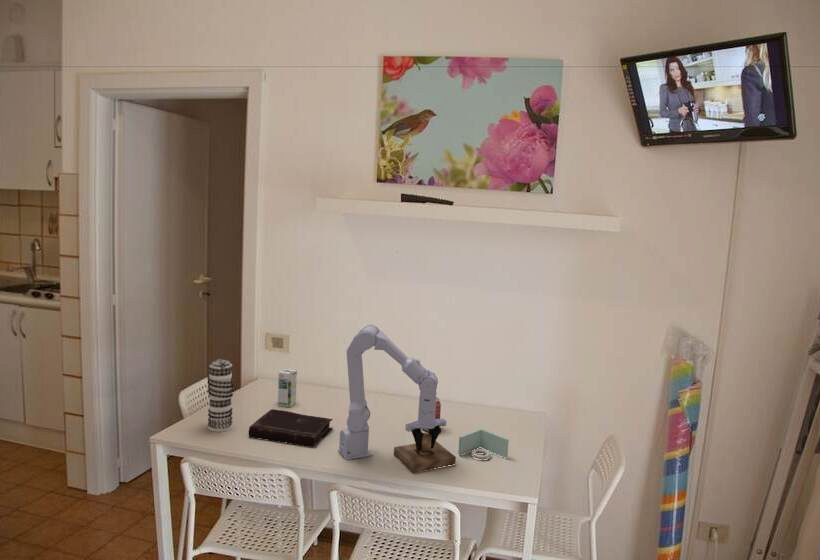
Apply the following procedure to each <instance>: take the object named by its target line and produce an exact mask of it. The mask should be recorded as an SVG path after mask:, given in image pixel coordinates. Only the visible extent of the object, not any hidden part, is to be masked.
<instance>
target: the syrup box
mask: <svg viewBox="0 0 820 560" xmlns="http://www.w3.org/2000/svg"><path fill="white" fill-rule="evenodd" d="M297 373H298V370H297V369H288V368H282V369H281V370H279V371H278V375H277V376H278V377H277V378H278V382H277V383H278V384H277V385H278V386H277V387H278V388H277V393H278V394H277V406H278V407H279V406H280V407H285V408H288V409H289V408H291V407H293V406H294V405H295V404H297V384H298V383H297V382H298V381H297V376H298V374H297Z"/></svg>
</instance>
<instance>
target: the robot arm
mask: <svg viewBox="0 0 820 560" xmlns="http://www.w3.org/2000/svg"><path fill="white" fill-rule="evenodd" d="M373 347H374V348H373ZM372 348H373V350H374V351H384V352H385V353H386V354H387V355H389V356H390V357H391V358H392V359H394V361H396V362H397V363H398V364H399V365H401V371H402V372H403V374H405V375H406V376H407V377H408V378H409V379H411V380H412V381H413V382H414V383H415V384H416V385H418V389H419V392H420V393H419V398H418V413H417V420H415V421H412V422H409V423H405V431H407V432H411V434H412V435H413V439H414V444H416V449H417V450H418V451H421V445H422V438H423V435H424V433H425V432H422V429H423V430H424V428H428V430H429V432H428V434H431V435H432V439H431V449H433V448H434V444H435V442H437V440H438V437H439V435H440V434H441V433H442V428H441V427H446V426H447V419H444V418H440V419H435V413H436V397H437V389H438V383H439V381H438V376H437V375H436V374H435V372H432V371H430V370H429V369H426V367H424V366H423V365H422V364H421V360H419V359H418V358H417V359H416V358H414V357H409V356H407V355H406V354H405V353H404V352H403V351H402V350H401V349H400V348H399V347H398V346H397V345H396V344H395V343H394V342H393V341H392V340H391V339H390V338H389V337H388V336H387V334H385V332H384V331H383V330H380V329H379V328H378V326H376V325H373V324H369V325H368V324H367V325H366V326H364V327H363V328H362V329H361V330H359V331H358V333H357V334H356V335H354V336H353V338H352V341H351V342H350V344H349V346H348V347H347V350H346V364H347V365H346V366H347V376H348V390H349V391H348V392H349V402H350V403H349V408H348V417H347V419H346V426H347V427H346V428H345V429H341V430H340V431H339V444H338V446H339V447H338V452H339V453H340V455H342V457H343V458H344V459H345V460H348V461H349V460H352V459H353V460H354V459H359V458H365V457H366V458H367V457H372V456H373V453H372V452H371V451H370V450H369V437H370V436H369V433H370V426H369V425H368V420H369V419H370V418H371V411H370V409H369V407H368V402H367V400H366V398H365V397H366V395H365V380H364V367H363V356H362V355H363V354H364V353H365V352H366V351H368V350H371V349H372Z"/></svg>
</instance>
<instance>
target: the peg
mask: <svg viewBox="0 0 820 560" xmlns="http://www.w3.org/2000/svg"><path fill="white" fill-rule="evenodd" d="M423 433H424V435H423V438H422V445H421V451H420V456H421V457H422V456H428V455H429V452H430V451H431V439H432V435H431V434H429V432H423Z"/></svg>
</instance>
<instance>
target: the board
mask: <svg viewBox="0 0 820 560" xmlns="http://www.w3.org/2000/svg"><path fill="white" fill-rule="evenodd" d="M394 455H395V456H396V457H397V458H398V459H399V460H400V461H401V462H402V463H403V464H404V465H405V466H406V467H407V468H408V469H409V470H410V471H409V470H408V469H407V468H406V467H405V466H404V465H403V464H402V463H401V462H400V461H399V460H398V459H397V458H396V457H395V456H394ZM393 456H394V457H395V458H396V459H397V460H398V461H399V462H400V463H401V464H402V465H403V466H404V467H405V468H406V469H407V470H408V471H409V472H410V473H411V474H416V472H417V473H421V471H422V472H426V471H425V470H428V471H431V470H430V469H433V470H435V469H434V468H438V467H443V466H448V465H453V464H455V465H456V458H457V457H456V456H455V455H454V454H453V453H451V452H450V451H449V450H448V449H446V448H445V447H444V445H442V444H440V443H439V442H437V441H436V442H435V444H434V448H433V449H431V451H430V452H429V455H428V456H422V457H421V456H420V451H418V450H417V449H416V443H411V444H405V445H404V444H403V445H398V446H394V448H393Z"/></svg>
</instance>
